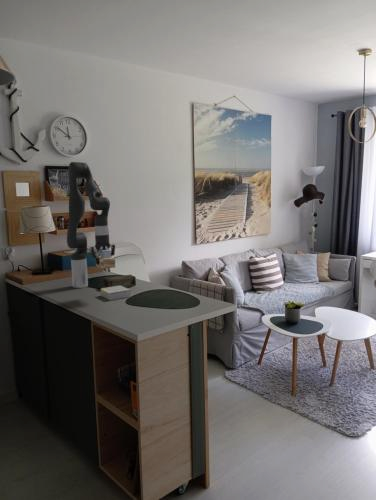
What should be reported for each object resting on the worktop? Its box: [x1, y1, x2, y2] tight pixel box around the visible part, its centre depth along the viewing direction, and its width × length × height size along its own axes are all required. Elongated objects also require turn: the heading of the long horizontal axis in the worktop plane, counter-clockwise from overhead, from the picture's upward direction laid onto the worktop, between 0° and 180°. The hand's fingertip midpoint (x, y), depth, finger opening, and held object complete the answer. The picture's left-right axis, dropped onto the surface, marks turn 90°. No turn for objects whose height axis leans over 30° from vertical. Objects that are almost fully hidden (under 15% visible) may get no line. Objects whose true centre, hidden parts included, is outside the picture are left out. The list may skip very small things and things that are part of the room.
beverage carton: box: [102, 274, 137, 288], centre depth 248 cm, size 8×19×7 cm, turn 122°
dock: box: [100, 285, 131, 301], centre depth 225 cm, size 13×12×4 cm
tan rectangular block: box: [95, 255, 116, 270], centre depth 223 cm, size 14×6×5 cm, turn 32°
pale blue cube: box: [100, 249, 111, 258], centre depth 221 cm, size 4×4×4 cm
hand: (103, 264), depth 225 cm, fingers closed on tan rectangular block, 6 cm apart
